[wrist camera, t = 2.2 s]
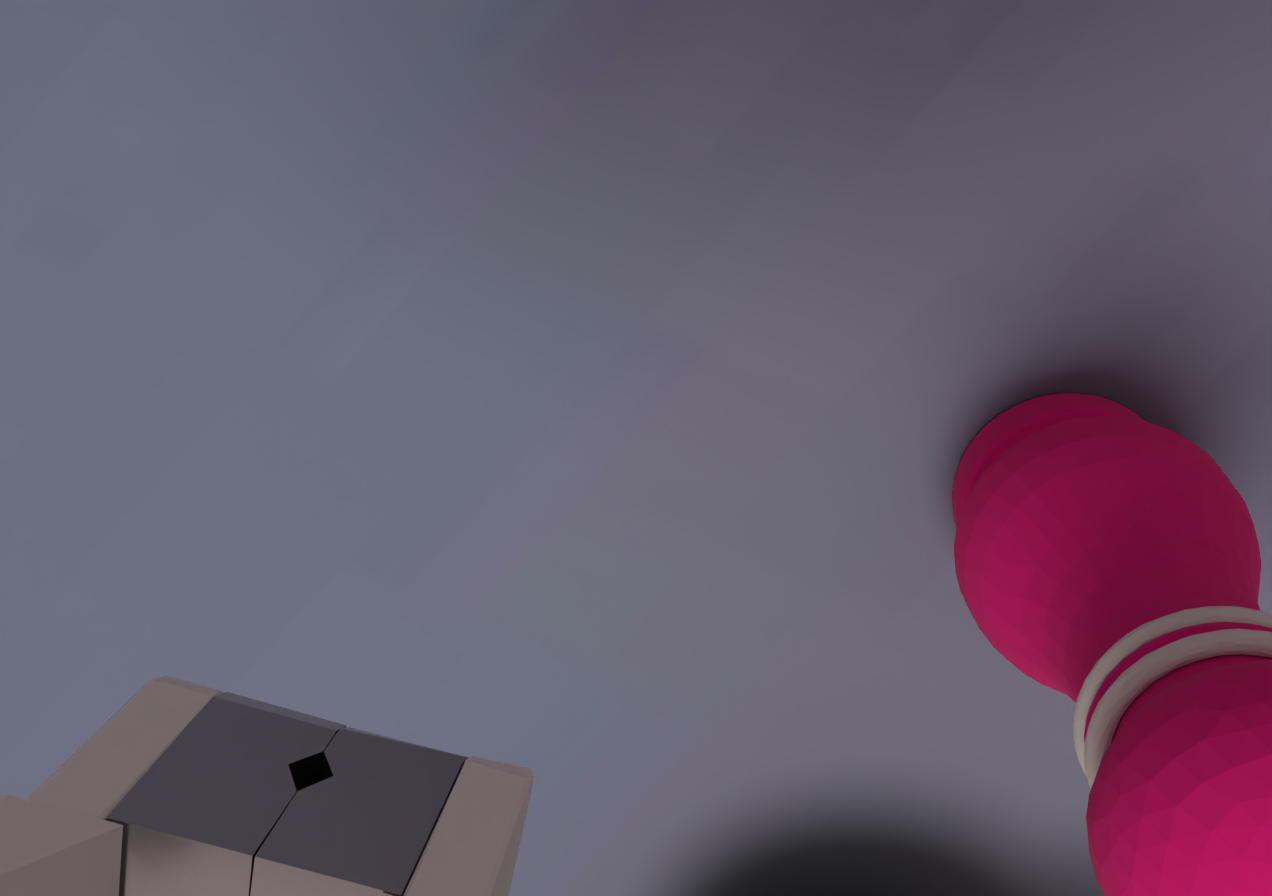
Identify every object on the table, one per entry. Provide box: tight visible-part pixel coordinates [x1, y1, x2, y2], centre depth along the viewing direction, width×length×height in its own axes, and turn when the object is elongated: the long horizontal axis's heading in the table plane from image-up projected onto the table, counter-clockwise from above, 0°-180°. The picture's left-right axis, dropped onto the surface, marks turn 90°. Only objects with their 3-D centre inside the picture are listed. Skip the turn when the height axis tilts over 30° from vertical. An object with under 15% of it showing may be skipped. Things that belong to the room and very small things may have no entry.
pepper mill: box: [952, 393, 1272, 896], centre depth 24 cm, size 7×7×20 cm
